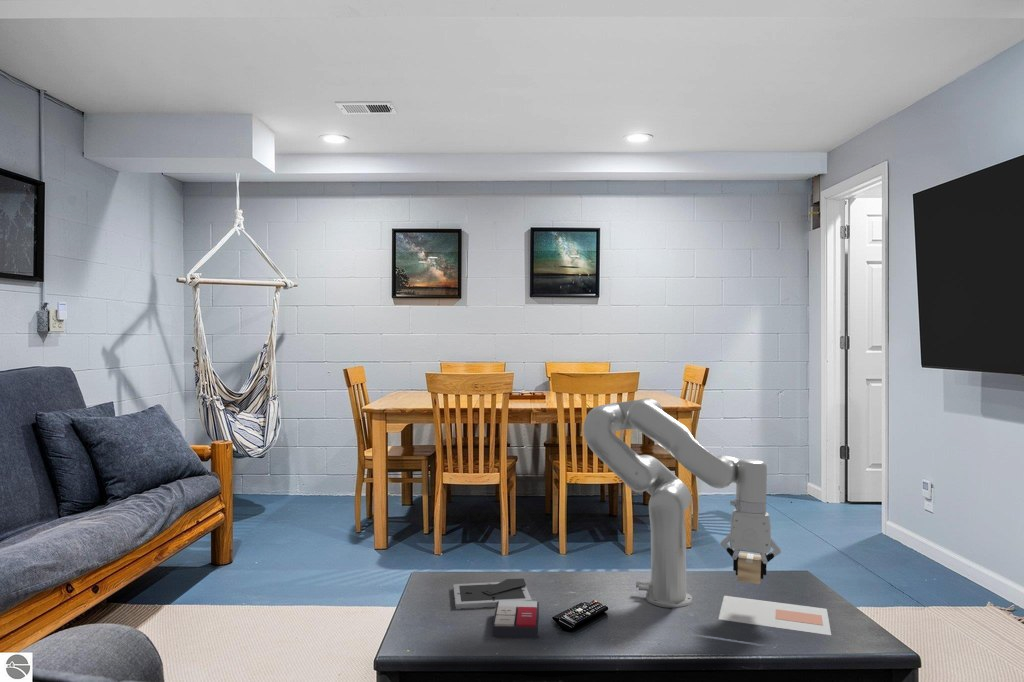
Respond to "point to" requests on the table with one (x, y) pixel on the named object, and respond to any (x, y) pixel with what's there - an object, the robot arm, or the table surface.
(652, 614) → the table surface
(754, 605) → the mat
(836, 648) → the table surface
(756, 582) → the card box
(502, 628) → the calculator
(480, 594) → the picture frame
